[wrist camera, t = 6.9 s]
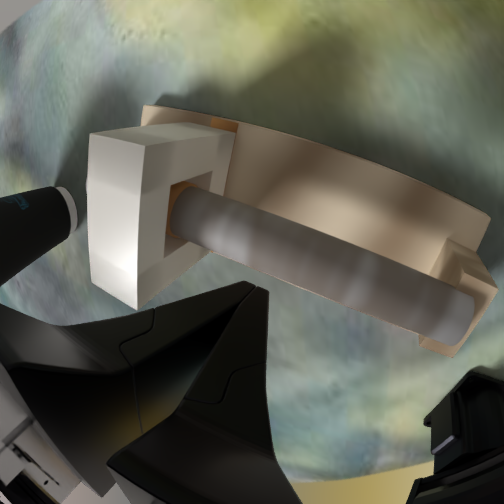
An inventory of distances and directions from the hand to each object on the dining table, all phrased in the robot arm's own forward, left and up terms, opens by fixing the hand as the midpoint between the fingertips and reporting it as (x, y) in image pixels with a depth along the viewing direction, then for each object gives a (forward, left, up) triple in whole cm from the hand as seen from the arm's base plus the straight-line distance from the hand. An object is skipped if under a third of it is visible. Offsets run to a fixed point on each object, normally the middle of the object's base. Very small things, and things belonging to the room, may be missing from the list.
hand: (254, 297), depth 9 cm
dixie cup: (+22, +7, -9) cm, 25 cm away
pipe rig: (+1, 0, -9) cm, 9 cm away
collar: (+6, 0, -7) cm, 10 cm away
